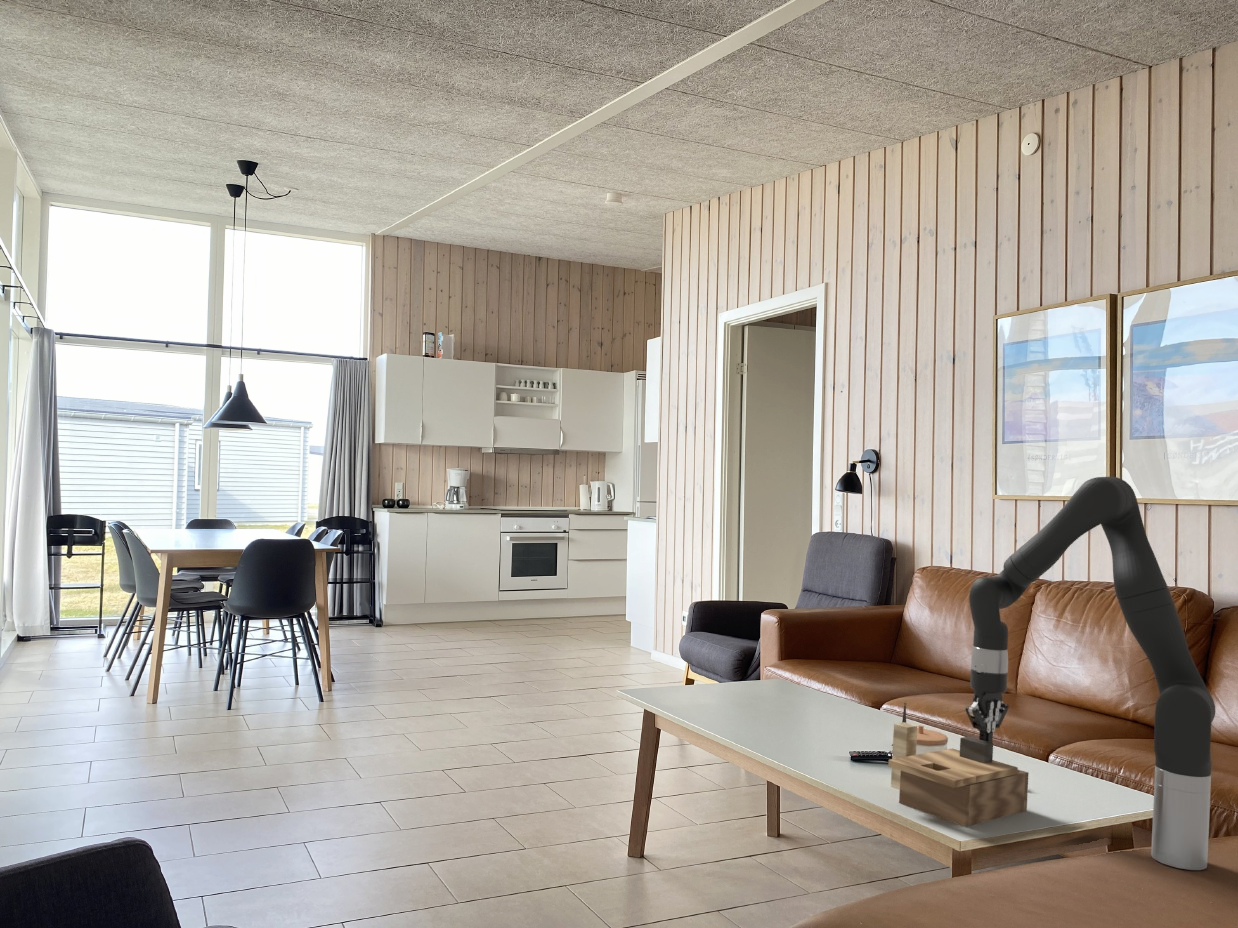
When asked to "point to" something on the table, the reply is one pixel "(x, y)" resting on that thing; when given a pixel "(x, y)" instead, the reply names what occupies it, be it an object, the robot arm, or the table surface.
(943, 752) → the wooden box lid
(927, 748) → the lidded bowl
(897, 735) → the key peg
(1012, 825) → the table surface
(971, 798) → the wooden rectangular box
